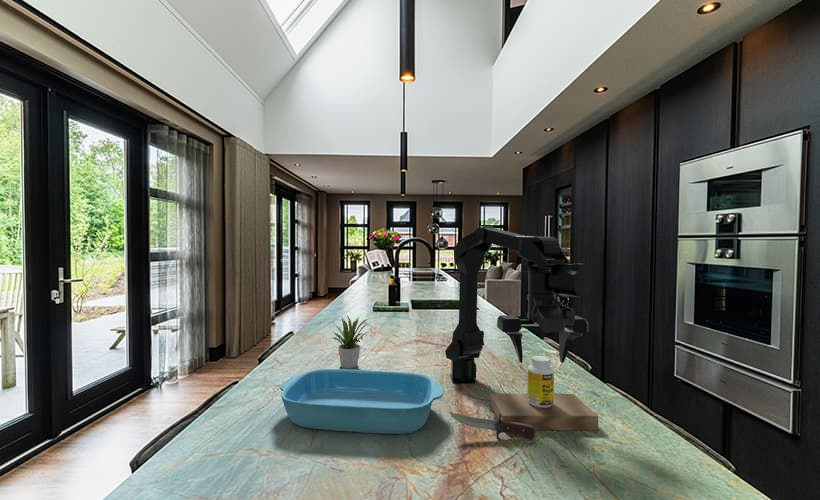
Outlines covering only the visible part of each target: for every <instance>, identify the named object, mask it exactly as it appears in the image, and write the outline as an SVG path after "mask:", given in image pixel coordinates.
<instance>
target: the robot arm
mask: <svg viewBox="0 0 820 500" xmlns="http://www.w3.org/2000/svg"><path fill="white" fill-rule="evenodd" d="M492 245H496V246H499V247H501V248H504V249H507V250H511V251H514V252H516V253H517V254H518V255H519V257H520V258H523V259H525V260H526V263H525V264H524V265H523V266H522V267H520V271H521V272H528V274H527V275H528V282H527V283H528V285H527V286H528V289H527V290H528V294H527V295H526V300H527V301H528V303H527V308H528V309H527V311H528V312H527V313H526V319H524V318H523V319H521V318H519V317H518V316H516V315H513V314H511V315H509V314H508V315H499V316H498V317H497V320H496V322H497V323H496V327H497V329H499V330H500V331H502V333H505V334H506V335H507V336H508V337H509V338H510V340H511V343H512V345H513V347H514V350H515V353H516V356H517V359H518V361H519V363H520V364H522V363H523V358H524V356H523V355H524V354H523V342H522V341H523V340H522V339H523V333H522V332H520V331H521V330H522V329H532V328H533V329H540V330H541V331H542V332H543V333H548V334H549V333H551V332H552V333H553V332H554V333H558V342H559V343H558V345H559V346H558V347H559V348H558V356H559V362H560V363H565V361H566V358H567V355H568V353H569V350H570V348H571V346H572V344H573V343H574V341H575V340H576V338H579V337H582V336H583V334H584V333H585V334H586V333H589V323H588V320H587V319H586V318H584V317H581V316H579V315H576V312H575V310H574V308H572V307H564V308H559V301H558V298H557V297H556V295H559V296H566V297H567V296H568V297H573V298H574V297H575V298H584V297H587V296H588V295H589V294H590V291H591V288H592V279H591V278H590V274H589V272H588V271H587V270H586V267H585V266H586V265H585V263H570V261H569V259H568V258H567V256H566V254H565V253H564V251H563V249H562V248H561V245H560V242H559V240H558V238H556V237H554V236H536V235H535V236H533V235H523V234H519V233H516V232H511V231H508V230H507V231H506V230H503V229H500V228H496V227H494V226H483V225H480V226H479V227H477V228H476V229H475V230H474V231H473V232H471V233H469V234H468V235H465V236H464V237H463V238H461V239H460V240H459V241H458V242H456V244H455V245H454V247H453V259H454V264H455V265H456V268H457V270H458V272H459V300H458V301H459V303H458V305H459V306H458V323H457V325H456V326H455V329H454V331H453V333H452V337H451V343H450V344H449V345H448V346H447V347H446V348H445V350H444V355H445V358H446V359H447V360H450V374H449V376H450V380H451V382H452V383H453V384H476V379H477V364H476V361H475V359H479V358H480V356H481V352H482V350H483V347H484V346H485V341H484V339H485V332H484V330H481V329H480V328H479V326H478V323H477V322H478V318H477V317H478V283H479V282H478V278H479V276H478V275H479V271H480V270H481V269H482V266H483V265H484V261H485V257H486V256H485V255H486V254H487V253H488V252H489V251H490V250H491V249H492Z"/></svg>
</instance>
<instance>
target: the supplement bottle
mask: <svg viewBox="0 0 820 500" xmlns="http://www.w3.org/2000/svg"><path fill="white" fill-rule="evenodd" d="M554 378H555V370H554V367H552V366H551V359H550V357H548V356H544V355H543V356H542V355H534V356H532V357H531V364H529V365H528V366H527V393H526V394H527V400H528V402H529V403H530V404H531V405H533V406H535V407H540V408H548V407H551V406H552V405H553V394H554V388H555V387H554V385H555V384H554V383H555V382H554Z"/></svg>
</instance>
